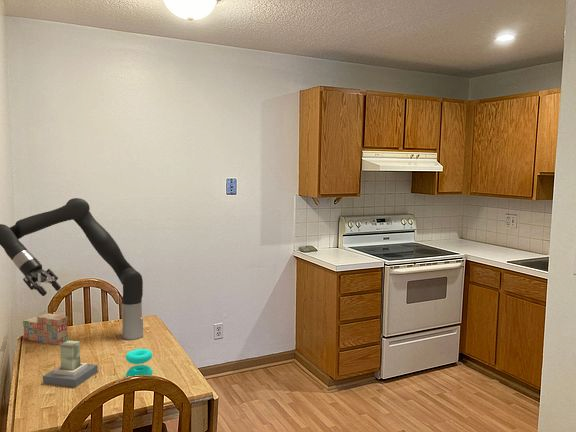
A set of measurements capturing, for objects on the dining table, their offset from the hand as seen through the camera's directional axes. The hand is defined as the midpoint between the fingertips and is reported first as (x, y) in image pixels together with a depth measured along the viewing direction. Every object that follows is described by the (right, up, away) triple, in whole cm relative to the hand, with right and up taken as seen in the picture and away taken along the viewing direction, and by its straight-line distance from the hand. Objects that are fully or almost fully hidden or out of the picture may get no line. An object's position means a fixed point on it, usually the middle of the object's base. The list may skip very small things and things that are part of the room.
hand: (52, 292), depth 198 cm
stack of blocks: (-18, -28, +30) cm, 45 cm away
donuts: (+39, -32, -9) cm, 51 cm away
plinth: (+13, -32, -11) cm, 36 cm away
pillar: (+13, -29, -11) cm, 33 cm away
